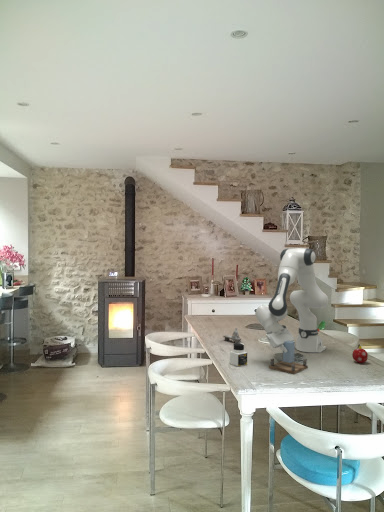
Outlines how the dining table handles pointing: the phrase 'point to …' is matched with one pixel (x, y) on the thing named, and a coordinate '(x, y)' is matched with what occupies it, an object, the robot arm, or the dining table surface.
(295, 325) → the dining table surface
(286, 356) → the blue block
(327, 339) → the dining table surface
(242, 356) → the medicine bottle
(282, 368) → the peg board
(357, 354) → the christmas ornament
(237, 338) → the sculpture
